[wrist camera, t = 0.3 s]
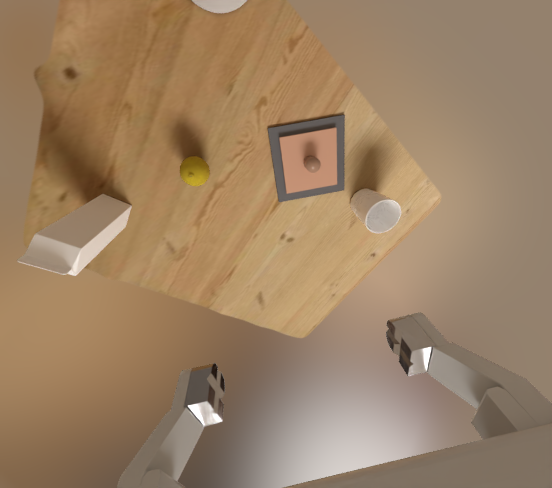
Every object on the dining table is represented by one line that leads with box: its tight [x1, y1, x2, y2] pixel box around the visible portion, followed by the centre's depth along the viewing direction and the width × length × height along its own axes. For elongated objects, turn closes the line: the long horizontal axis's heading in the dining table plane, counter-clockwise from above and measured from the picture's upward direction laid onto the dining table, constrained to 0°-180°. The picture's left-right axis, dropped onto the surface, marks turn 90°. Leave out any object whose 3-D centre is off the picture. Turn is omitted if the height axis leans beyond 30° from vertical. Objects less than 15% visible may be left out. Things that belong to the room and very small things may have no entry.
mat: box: [268, 115, 345, 202], centre depth 51 cm, size 16×16×1 cm
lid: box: [279, 127, 337, 194], centre depth 50 cm, size 12×12×4 cm
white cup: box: [350, 188, 401, 233], centre depth 54 cm, size 8×8×10 cm
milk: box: [17, 194, 132, 276], centre depth 43 cm, size 6×6×22 cm
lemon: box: [180, 156, 210, 186], centre depth 46 cm, size 6×6×8 cm
